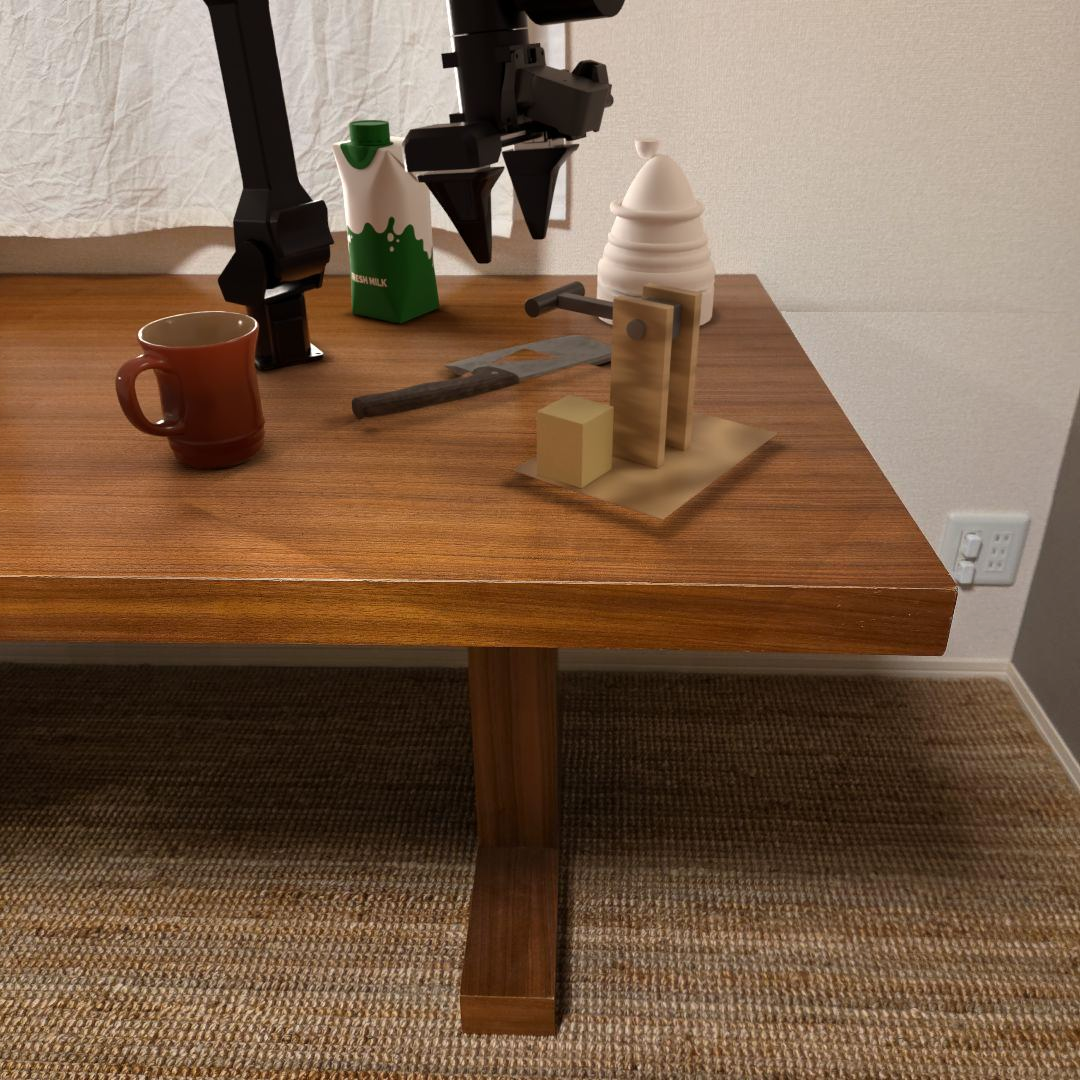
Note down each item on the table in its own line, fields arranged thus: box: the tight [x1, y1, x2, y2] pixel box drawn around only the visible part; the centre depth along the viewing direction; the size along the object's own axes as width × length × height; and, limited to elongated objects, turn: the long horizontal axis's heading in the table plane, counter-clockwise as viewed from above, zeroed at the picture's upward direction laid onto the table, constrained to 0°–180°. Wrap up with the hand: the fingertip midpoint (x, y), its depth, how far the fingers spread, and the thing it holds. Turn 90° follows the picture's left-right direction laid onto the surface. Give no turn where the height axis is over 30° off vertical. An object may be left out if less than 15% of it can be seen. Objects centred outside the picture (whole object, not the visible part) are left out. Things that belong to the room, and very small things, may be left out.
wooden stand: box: [511, 283, 778, 521], centre depth 75 cm, size 13×18×13 cm
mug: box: [114, 311, 266, 470], centre depth 76 cm, size 12×9×10 cm
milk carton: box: [331, 119, 441, 325], centre depth 109 cm, size 9×9×20 cm
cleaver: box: [350, 334, 612, 420], centre depth 94 cm, size 30×10×2 cm, turn 131°
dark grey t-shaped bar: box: [524, 280, 682, 340], centre depth 75 cm, size 11×6×2 cm, turn 53°
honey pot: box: [596, 137, 717, 326], centre depth 108 cm, size 13×13×18 cm
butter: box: [536, 394, 614, 488], centre depth 73 cm, size 4×4×5 cm
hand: (513, 250), depth 80 cm, fingers open, 9 cm apart
